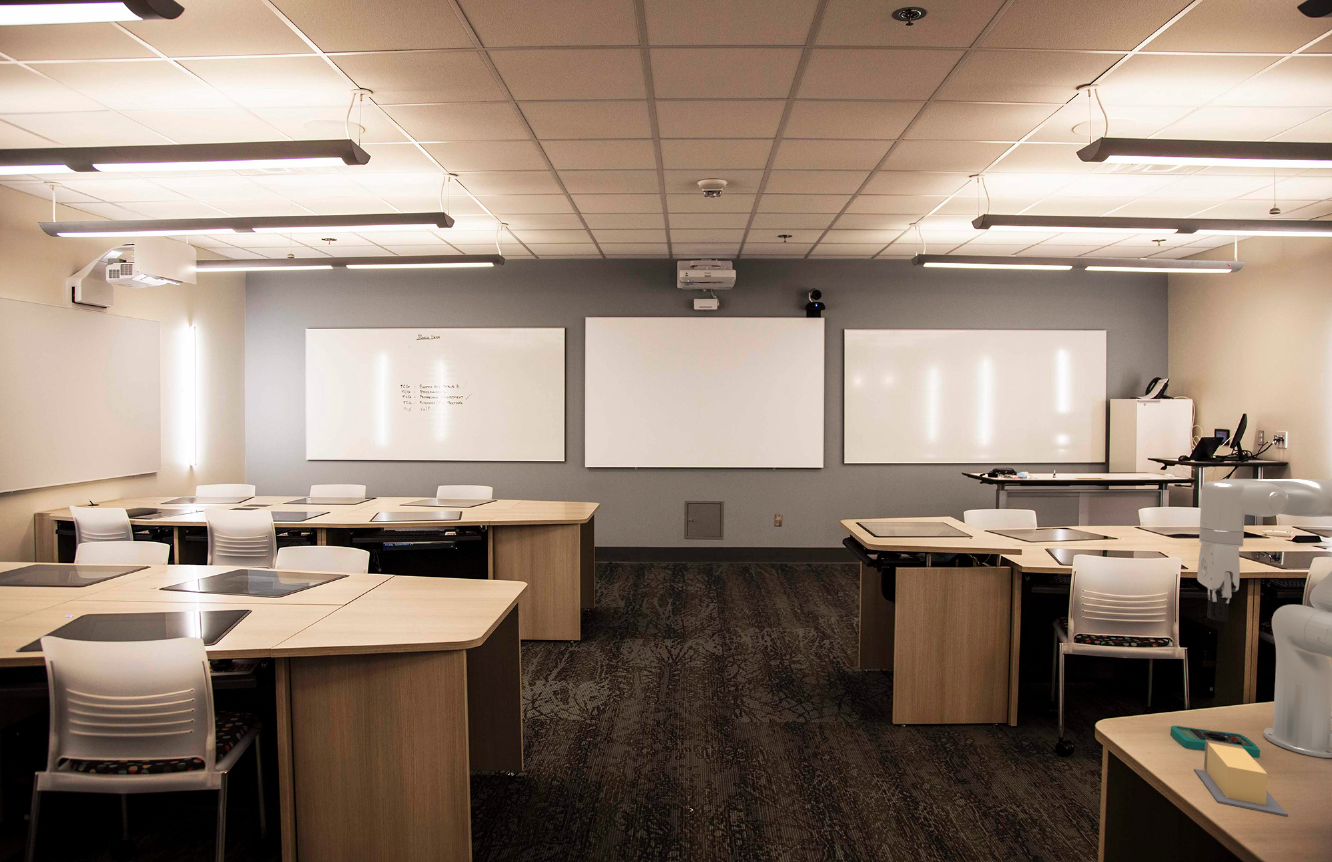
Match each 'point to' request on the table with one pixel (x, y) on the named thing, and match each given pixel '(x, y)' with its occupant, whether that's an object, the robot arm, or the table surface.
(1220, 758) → the ochre block
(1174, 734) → the digital multimeter
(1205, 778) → the mat
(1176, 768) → the table surface
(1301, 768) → the table surface
